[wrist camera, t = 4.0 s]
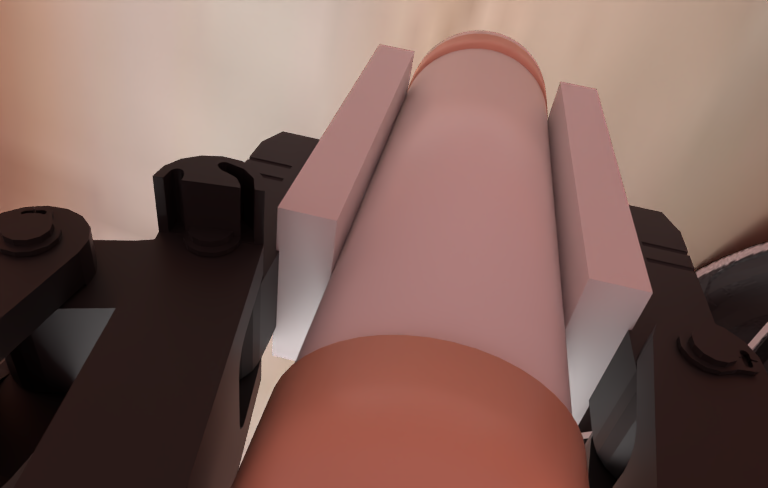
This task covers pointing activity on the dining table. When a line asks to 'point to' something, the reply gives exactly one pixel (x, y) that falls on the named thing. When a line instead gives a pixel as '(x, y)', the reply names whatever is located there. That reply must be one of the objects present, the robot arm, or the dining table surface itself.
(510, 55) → the marker
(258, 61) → the dining table surface
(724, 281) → the wheel rim
